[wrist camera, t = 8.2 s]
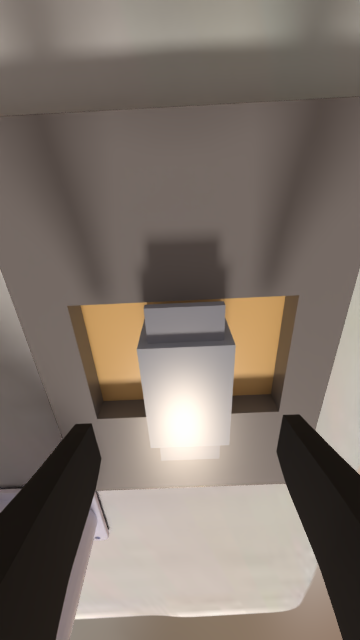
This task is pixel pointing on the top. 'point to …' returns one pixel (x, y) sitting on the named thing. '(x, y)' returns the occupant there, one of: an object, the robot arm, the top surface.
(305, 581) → the top surface
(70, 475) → the robot arm
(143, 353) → the block
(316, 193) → the plate
